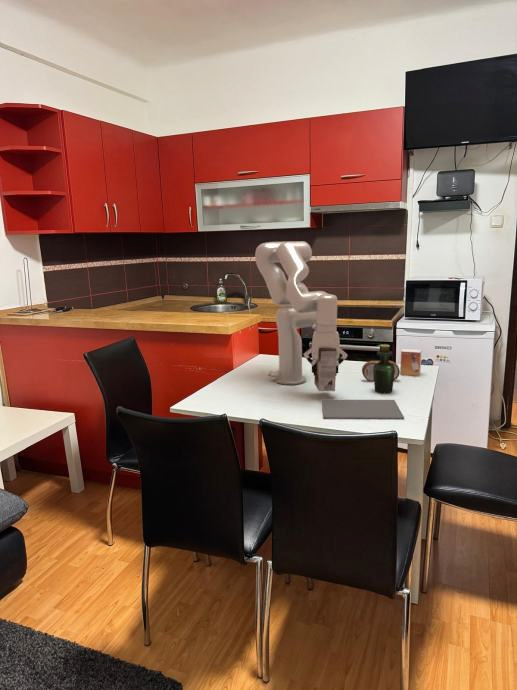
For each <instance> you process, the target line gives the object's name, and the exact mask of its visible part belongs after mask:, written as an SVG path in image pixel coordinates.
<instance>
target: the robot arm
mask: <svg viewBox="0 0 517 690" xmlns="http://www.w3.org/2000/svg"><path fill="white" fill-rule="evenodd" d="M254 253H255V255H254V259H255V263H256V267H257V268H258V270H259V272H260V274H261V276H262V277H263V279H264V281H265V284H266V286H267V289H268V291H269V295H270V297H271V299H272V300H271V301H272V303H273V304H274V305H275V306H277V307H280V308H279V309H278V310H277V311H276V313H275V322H276V327H277V336H278V338H277V339H278V367H279V368H278V370H275V371H273V370H272V371H271V370H270V371H268V376H269V377H271V378H272V377H273V378H274V377H275V382H276V383H278V384H280V385H284V386H286V385H287V386H292V385H295V386H296V385H300V384H301V385H302V384H304V383H305V382H306V381H307V378H306V376H304V375H303V357H304V358H305V359H306V360H307V361H308V362H309V364H311V373H312V374H313V376H314V377H315V375H316V364H315V363H316V361H317V360H318V351H319V348H331V349H337V356H336V375H337V374H339V366H340V365H341V364H342V363H343V362H344V361H345V360H346V359H347V357H348V354H347V352H345V351H344V350H343V349H342V348H340V347H341V345H340V343H341V341H340V334H339V332H338V331H337V329H338V328H337V325H338V324H337V323H338V322H337V320H338V297H337V295H335V294H331V293H327V292H325V291H323V290H316V291H309V289H308V287H307V286H306V285H305V283H303V282H302V281H303V280H305V279H306V277H307V276H308V275H309V272H310V268H309V266H308V265H307V263H308V262H309V261H310V260H311V258H312V255H313V251H312V248H311V245H310V244H309V243H308V242H306V241H305V240H304V241H269V242H263V243H260V244H259V245H258V246H257V247H256V249H255V252H254ZM275 263H280V264H281V266H282V267H283V270H284V271H283V270H282V268H280V267H279V266H278V265H277V264H275ZM285 274H286V275H287V278H286V275H285ZM287 279H288V280H287ZM310 327H311V329H313V330H314V331H313V335H312V341H311V347H310V348H309V349H307V350H306V351H305V352H303V348H302V347H303V343H302V342H303V341H302V337H301V335H300V333H299V332H298V329H302V328H310ZM310 354H311V357H310V356H309V355H310ZM340 354H341V355H342V356H341V357H340Z"/></svg>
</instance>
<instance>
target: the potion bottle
mask: <svg viewBox="0 0 517 690" xmlns="http://www.w3.org/2000/svg"><path fill="white" fill-rule="evenodd" d="M390 347H391V345H390V344H386V343H385V344H379V350H377V352H376V355H377V356H378V357H379V361H380V362H378V363H376V364H375V365H374V366H373V370H374V381H373V383H374V385H373V386H374V391H375V393H378V394H385V395H386V394H391V393H392V392H393V388H394V381H395V380H394V374H395V367H394V365H393V364H392V363H390V362H388V361H390V357H391V356H393V352H392V351H391V350H390Z"/></svg>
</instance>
